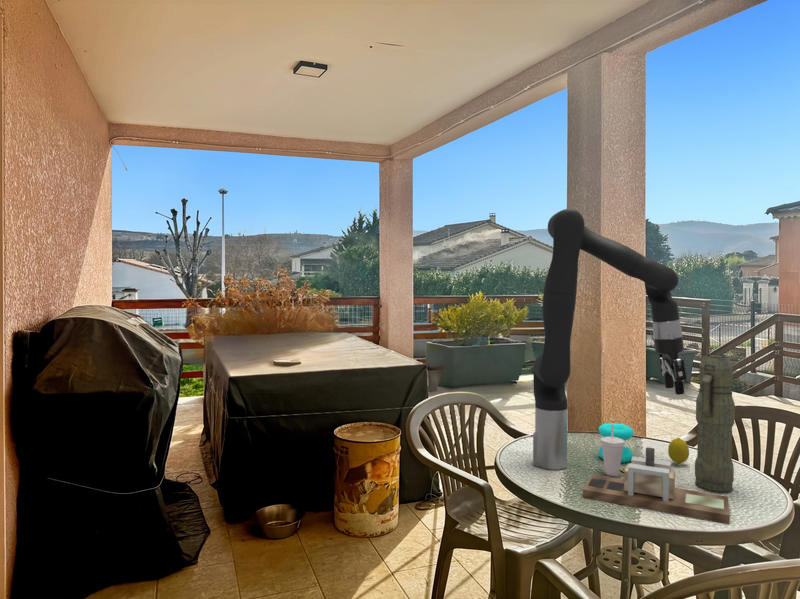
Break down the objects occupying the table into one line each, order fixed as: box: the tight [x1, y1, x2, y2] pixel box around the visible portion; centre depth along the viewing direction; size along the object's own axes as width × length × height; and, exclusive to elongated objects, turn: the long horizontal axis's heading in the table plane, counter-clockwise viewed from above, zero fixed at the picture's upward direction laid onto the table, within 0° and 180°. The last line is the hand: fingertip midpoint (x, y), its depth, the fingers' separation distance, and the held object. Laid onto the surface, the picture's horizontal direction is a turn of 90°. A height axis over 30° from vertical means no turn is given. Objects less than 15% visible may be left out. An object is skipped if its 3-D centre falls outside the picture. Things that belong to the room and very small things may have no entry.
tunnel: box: [628, 456, 672, 502], centre depth 137 cm, size 9×9×7 cm
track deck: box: [582, 473, 731, 525], centre depth 137 cm, size 32×12×2 cm, turn 61°
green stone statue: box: [694, 353, 736, 494], centre depth 145 cm, size 9×12×35 cm
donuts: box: [598, 422, 635, 464], centre depth 168 cm, size 10×10×10 cm
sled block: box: [624, 447, 676, 499], centre depth 137 cm, size 11×6×11 cm, turn 61°
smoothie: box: [600, 424, 625, 477], centre depth 156 cm, size 6×6×14 cm
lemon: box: [667, 437, 690, 465], centre depth 163 cm, size 6×6×8 cm
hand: (674, 390), depth 160 cm, fingers open, 8 cm apart
